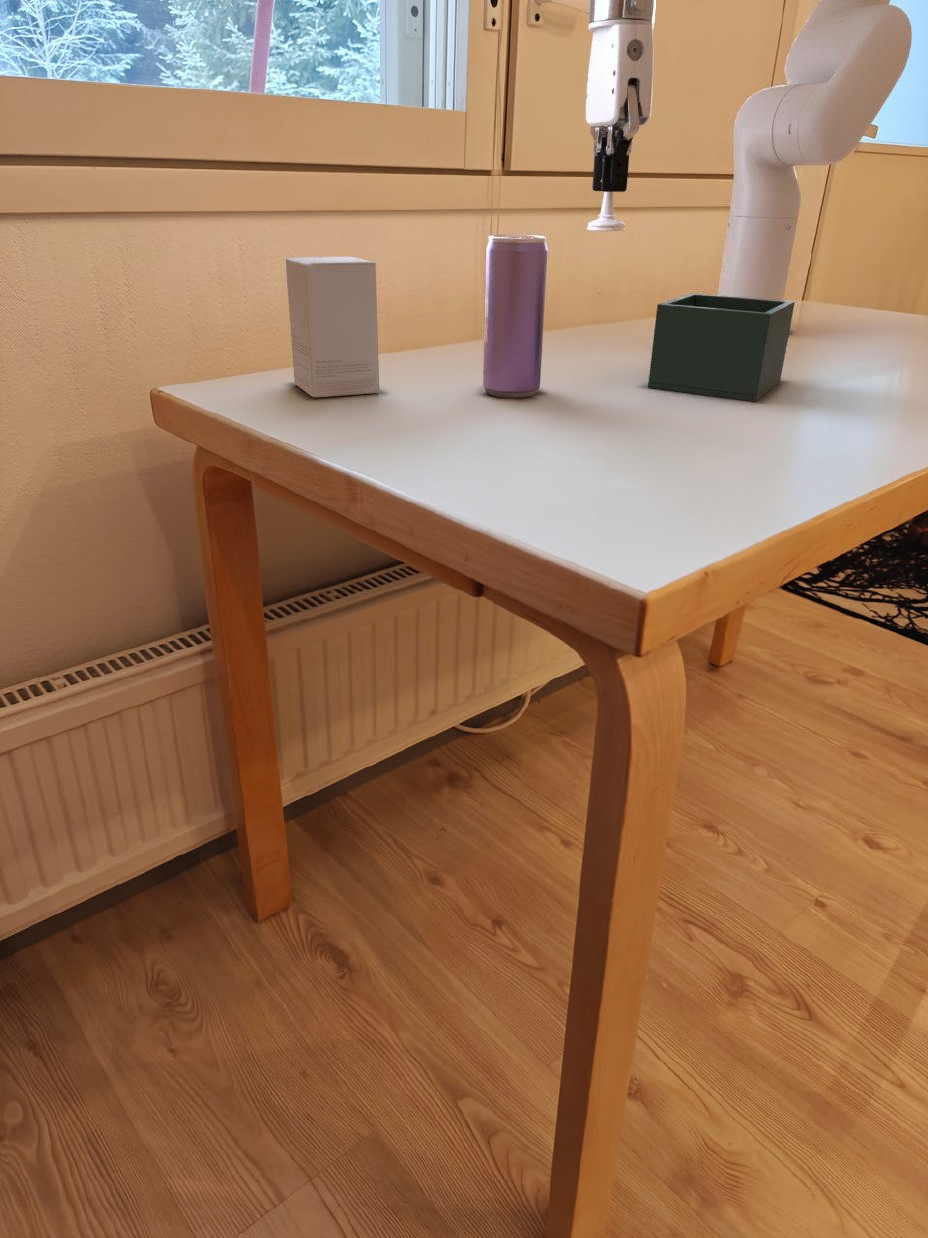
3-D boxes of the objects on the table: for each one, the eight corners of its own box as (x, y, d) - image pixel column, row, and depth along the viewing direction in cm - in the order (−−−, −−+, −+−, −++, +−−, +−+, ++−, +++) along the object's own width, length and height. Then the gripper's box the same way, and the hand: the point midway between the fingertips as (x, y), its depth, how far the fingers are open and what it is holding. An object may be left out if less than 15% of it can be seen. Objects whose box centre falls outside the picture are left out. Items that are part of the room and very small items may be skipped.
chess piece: (579, 229, 111) (584, 140, 106) (602, 227, 114) (608, 141, 109) (609, 231, 108) (616, 140, 103) (633, 229, 111) (640, 140, 106)
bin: (680, 369, 103) (690, 293, 99) (780, 381, 98) (794, 301, 94) (647, 387, 94) (657, 304, 90) (755, 401, 89) (770, 313, 85)
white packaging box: (381, 393, 89) (378, 261, 83) (311, 399, 86) (302, 262, 80) (359, 379, 95) (354, 254, 89) (292, 384, 92) (283, 256, 86)
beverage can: (541, 399, 88) (550, 238, 81) (482, 398, 88) (486, 237, 81) (537, 386, 93) (546, 234, 86) (482, 385, 93) (486, 233, 86)
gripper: (683, 5, 94) (664, 192, 103) (624, 25, 108) (611, 189, 116) (619, 2, 92) (605, 193, 101) (567, 22, 106) (559, 189, 115)
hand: (609, 189), depth 109 cm, fingers closed on chess piece
